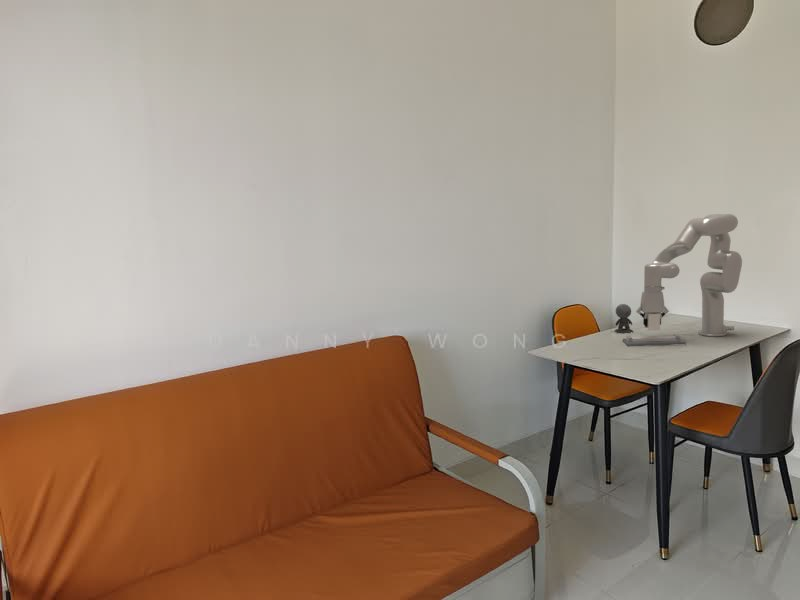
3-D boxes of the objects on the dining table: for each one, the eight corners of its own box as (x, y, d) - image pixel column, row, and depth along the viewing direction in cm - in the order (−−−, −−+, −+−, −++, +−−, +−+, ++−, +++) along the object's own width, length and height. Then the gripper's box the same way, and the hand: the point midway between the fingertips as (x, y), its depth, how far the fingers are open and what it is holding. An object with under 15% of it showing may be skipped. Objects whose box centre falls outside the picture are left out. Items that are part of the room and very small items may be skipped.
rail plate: (677, 339, 274) (677, 332, 273) (685, 344, 263) (685, 337, 262) (622, 340, 278) (622, 334, 278) (627, 346, 268) (627, 339, 267)
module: (655, 327, 273) (655, 309, 272) (659, 330, 265) (660, 312, 264) (644, 327, 274) (644, 309, 273) (648, 330, 266) (649, 312, 265)
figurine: (629, 329, 302) (629, 302, 300) (635, 333, 293) (634, 305, 290) (613, 330, 303) (612, 303, 301) (618, 334, 293) (618, 306, 291)
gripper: (669, 287, 269) (668, 324, 271) (632, 288, 272) (631, 325, 274) (673, 289, 261) (673, 327, 264) (635, 290, 265) (635, 328, 267)
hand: (652, 325), depth 269 cm, fingers closed on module, 5 cm apart
